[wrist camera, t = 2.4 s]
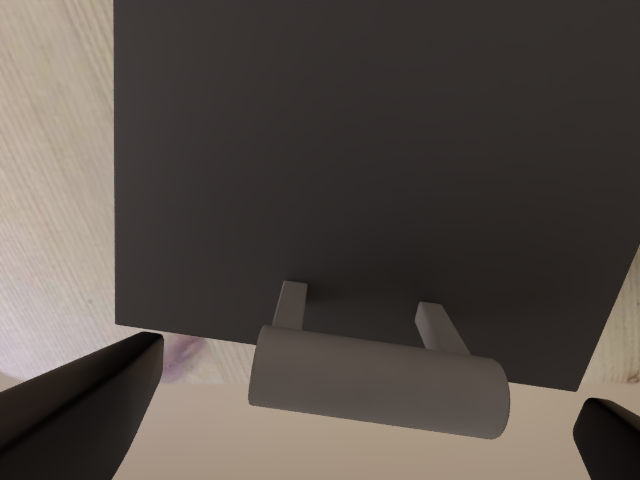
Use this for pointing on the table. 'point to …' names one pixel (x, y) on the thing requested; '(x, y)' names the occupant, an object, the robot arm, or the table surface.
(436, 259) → the lid
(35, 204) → the table surface
